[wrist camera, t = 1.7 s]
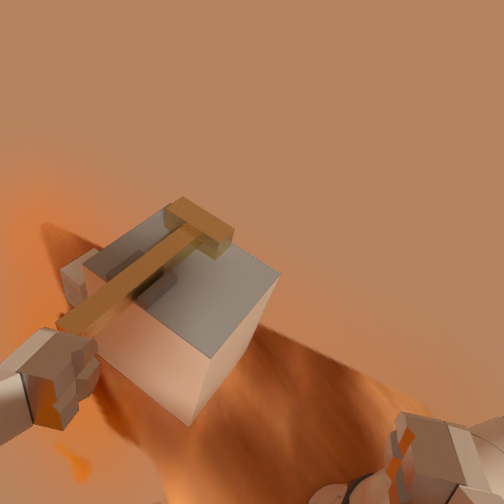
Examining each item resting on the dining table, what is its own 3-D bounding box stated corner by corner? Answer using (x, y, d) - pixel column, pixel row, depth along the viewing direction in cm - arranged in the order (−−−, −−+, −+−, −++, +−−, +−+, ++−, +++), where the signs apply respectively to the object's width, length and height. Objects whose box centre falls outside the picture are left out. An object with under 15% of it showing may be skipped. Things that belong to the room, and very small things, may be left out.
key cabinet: (244, 353, 77) (283, 267, 57) (188, 427, 65) (212, 352, 45) (162, 294, 82) (171, 196, 62) (96, 353, 70) (81, 255, 50)
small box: (98, 278, 81) (94, 246, 74) (117, 293, 80) (115, 261, 72) (65, 301, 76) (58, 268, 68) (85, 317, 75) (79, 286, 67)
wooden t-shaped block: (229, 246, 60) (234, 229, 57) (99, 368, 43) (97, 352, 40) (180, 215, 62) (182, 196, 59) (38, 318, 45) (31, 299, 42)
